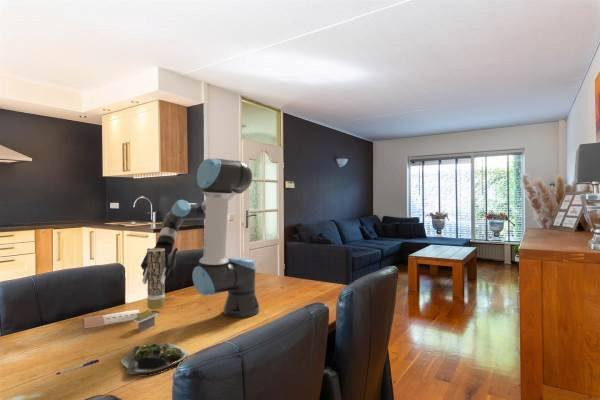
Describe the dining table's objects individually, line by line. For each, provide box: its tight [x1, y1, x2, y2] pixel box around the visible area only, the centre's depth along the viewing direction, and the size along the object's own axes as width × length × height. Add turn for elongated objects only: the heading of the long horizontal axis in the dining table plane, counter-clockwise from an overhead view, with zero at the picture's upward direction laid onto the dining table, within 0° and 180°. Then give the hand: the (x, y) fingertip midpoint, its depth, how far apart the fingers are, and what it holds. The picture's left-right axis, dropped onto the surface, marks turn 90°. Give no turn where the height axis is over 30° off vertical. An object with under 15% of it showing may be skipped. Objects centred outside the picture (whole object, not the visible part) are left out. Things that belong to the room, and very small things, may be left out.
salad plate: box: [121, 343, 188, 376], centre depth 102 cm, size 19×18×5 cm
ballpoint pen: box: [56, 359, 100, 375], centre depth 97 cm, size 10×1×1 cm, turn 140°
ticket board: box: [83, 309, 141, 329], centre depth 137 cm, size 12×20×1 cm, turn 123°
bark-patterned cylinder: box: [147, 247, 166, 310], centre depth 146 cm, size 7×7×25 cm
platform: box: [133, 309, 159, 334], centre depth 127 cm, size 12×18×7 cm, turn 162°
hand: (152, 282), depth 142 cm, fingers closed on bark-patterned cylinder, 7 cm apart
